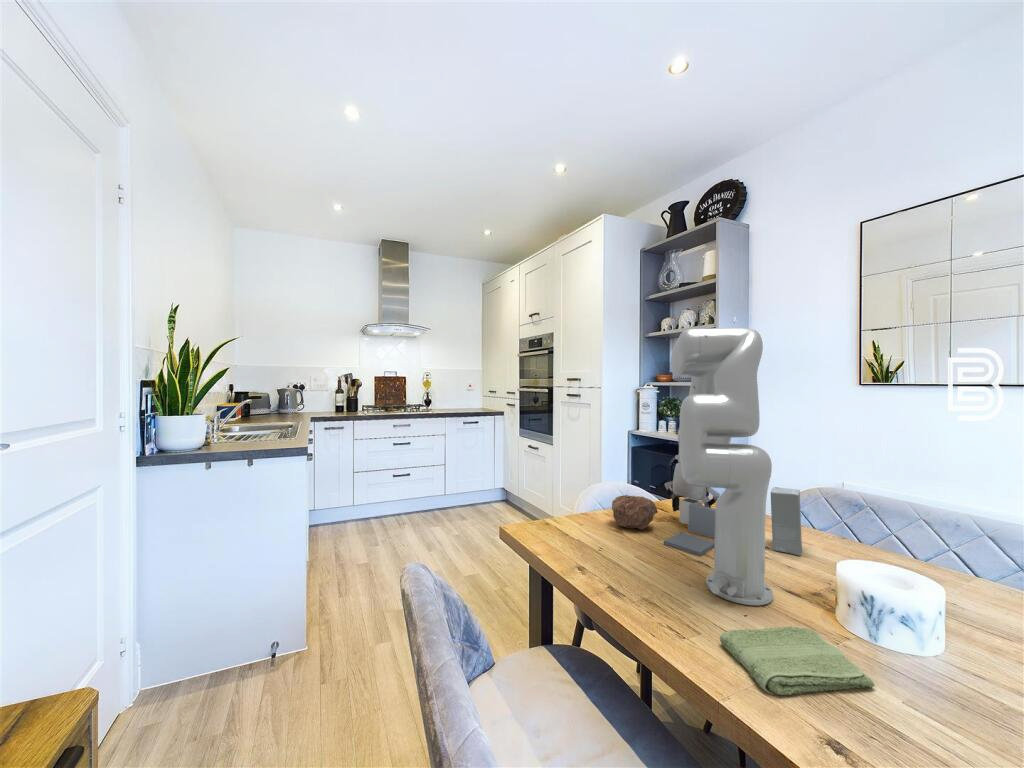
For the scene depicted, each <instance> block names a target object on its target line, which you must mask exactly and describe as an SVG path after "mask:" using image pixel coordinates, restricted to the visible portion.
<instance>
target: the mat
mask: <svg viewBox="0 0 1024 768" xmlns="http://www.w3.org/2000/svg"><path fill="white" fill-rule="evenodd" d="M714 542H715V541H713V540H709V539H706V538H703V537H699V536H696V535H692V534H690V533H685V532H682V531H680V532H678V533H676V534H674V535H672V536H670V537H668V538H666V539H664V540H663V545H664V546H667V545H668V547H671V548H673V547H674V548H673V549H676V548H677V550H679V549H680V550H679V551H682V550H683V552H685V551H686V552H685V553H689V554H692V555H695V556H699V557H701V556H703V555H704V554H706V553H708V552H710V551H711V550H713V549H714Z"/></svg>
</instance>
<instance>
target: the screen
mask: <svg viewBox="0 0 1024 768" xmlns="http://www.w3.org/2000/svg"><path fill="white" fill-rule="evenodd" d="M688 532H690V533H694V534H697V535H701V536H703V537H708V538H711V539H714V540H715V507H714V508H713V507H711V508H710V507H705V505H702V506H701V505H697V504H689V525H688Z"/></svg>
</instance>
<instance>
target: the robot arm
mask: <svg viewBox="0 0 1024 768" xmlns="http://www.w3.org/2000/svg"><path fill="white" fill-rule="evenodd" d="M763 343H764V342H763V339H762V336H761V334H760V333H759V332H758V331H757V330H756V329H753V328H750V327H749V328H748V327H715V328H712V327H710V328H688V329H684V330H683V331H682V332H681V333H680V334H679V336H678V338H677V340H676V342H675V344H674V346H673V349H672V352H671V355H670V370H671V373H672V374H673V375H674V376H676V377H691V381H690V386H689V394H688V396H686V397H685V398H684V399H683V400H682V402H681V406H680V410H679V426H678V432H677V441H678V442H677V443H678V454H676V455H675V456H674V458H675V460H677V463H676V464H675V467H674V472H673V478H672V479H673V480H671V481H667V482H665V483H664V487H665V489H666V491H667V493H668V495H669V496H670V499H672V500H671V507H672V511H673V512H677V511H680V500H681V499H680V497H683V498H691V499H695V500H700V501H702V505H703V506H705V507H710V508H712V505H715V507H714V509H715V539H714V541H713V542H714V548H713V549H714V550H713V551H714V554H713V559H714V560H713V562H714V563H713V565H714V566H713V572H712V573H709V574H708V575H706V578H705V583H706V587H707V588H708V590H710V591H711V593H712V594H713V595H716V596H718V597H719V598H722V599H724V600H727V601H730V602H732V603H736V604H740V605H746V606H757V607H758V606H765V605H768V604H770V603H771V602H772V601H773V599H774V592H773V589H772V588H771V587H770V586H768V585H767V584H766V583H765V570H766V569H765V564H766V563H765V562H766V513H767V512H766V511H767V498H768V497H767V496H768V490H769V486H770V480H771V477H772V468H773V464H772V460H771V458H770V455H769V454H768V452H767V451H766V450H764V449H762V448H761V447H759V446H757V445H752V444H747V443H746V444H745V443H731V442H732V441H731V440H732V438H748V437H752V436H755V435H756V434H757V433H758V431H759V427H760V421H761V419H760V401H759V389H758V388H759V387H758V386H759V385H758V370H759V366H760V362H761V359H762V355H763V349H764V348H763V347H764V345H763ZM714 488H715V489H716V488H717V489H725V490H724V491H723V492H722V494H721V493H719V492H718V491H717V490H715V489H714ZM710 495H712V499H710V498H709V496H710Z"/></svg>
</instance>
